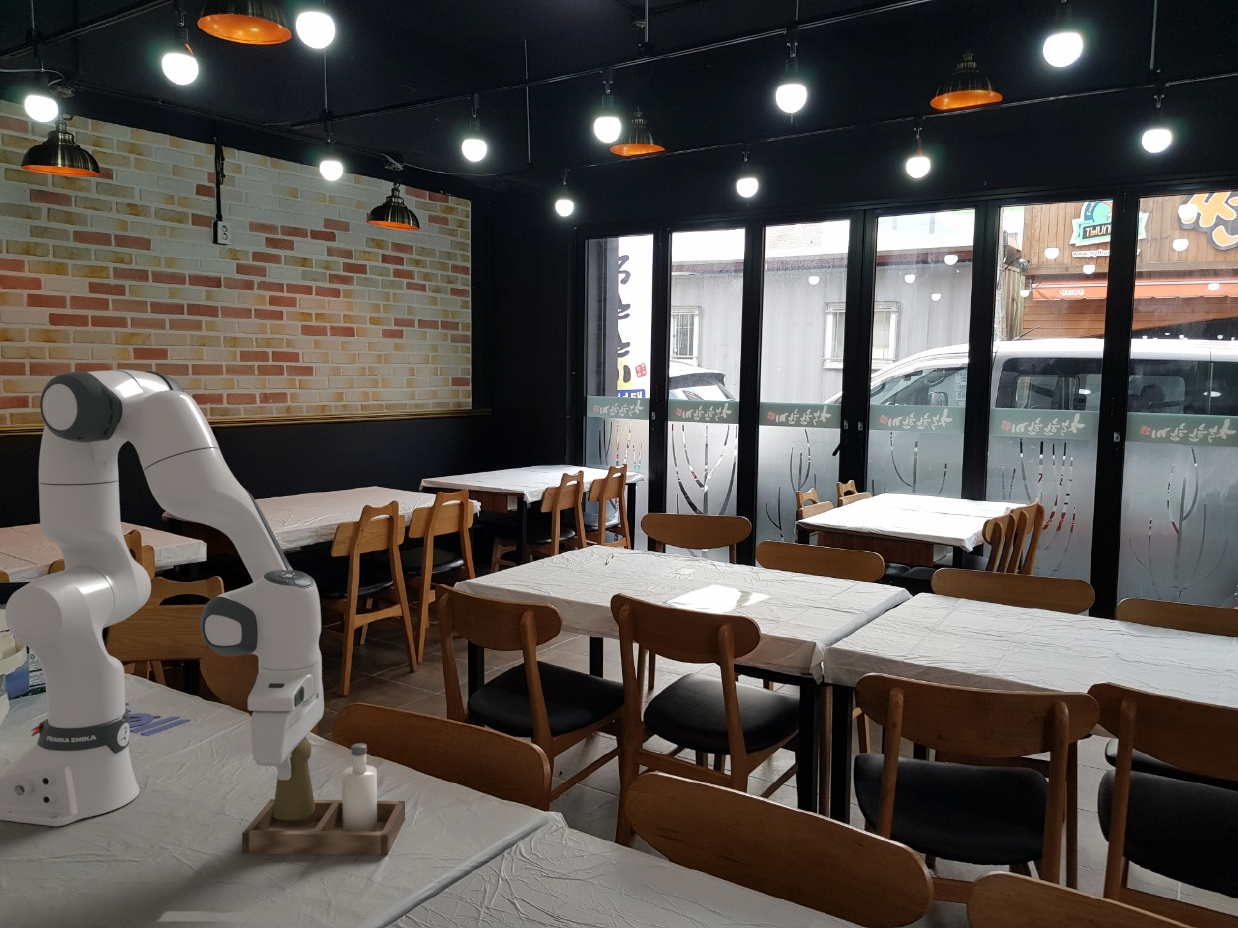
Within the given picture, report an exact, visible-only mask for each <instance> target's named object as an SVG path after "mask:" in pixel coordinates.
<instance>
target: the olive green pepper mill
mask: <svg viewBox="0 0 1238 928" xmlns="http://www.w3.org/2000/svg"><path fill="white" fill-rule="evenodd" d="M311 755H312V744H311V743H310V741H309V739H308V740H307V739H305V738H304V739H303V740H302V741H301V742H300V743H299V744H298V745H297V747H296V748H295V749H294V750H293V751H292V752H291V757H290V761H291V765H293V775H292V776H291V778H290V779H289V780H279V779H278V776H277V778H276V785H275V795H274V799H275V802H274V810H273V816H274V817H275V818H277V819H279V820H298V819H301V818H305V817H307V816H309V815H311V814H312V813H313V812H314V811H315V803H314V800H315V798H314V791H313V785H312V778H311V772H310V767H309V759H310V758H311Z"/></svg>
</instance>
